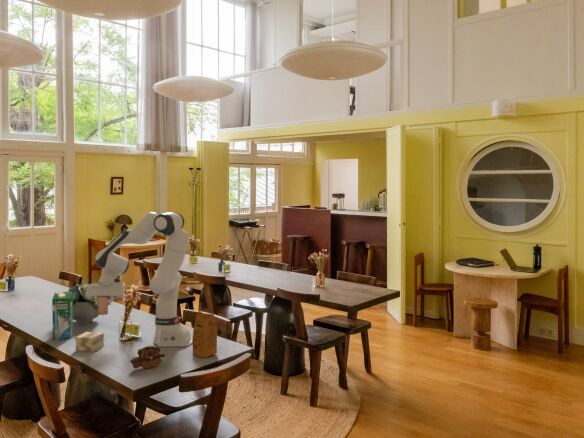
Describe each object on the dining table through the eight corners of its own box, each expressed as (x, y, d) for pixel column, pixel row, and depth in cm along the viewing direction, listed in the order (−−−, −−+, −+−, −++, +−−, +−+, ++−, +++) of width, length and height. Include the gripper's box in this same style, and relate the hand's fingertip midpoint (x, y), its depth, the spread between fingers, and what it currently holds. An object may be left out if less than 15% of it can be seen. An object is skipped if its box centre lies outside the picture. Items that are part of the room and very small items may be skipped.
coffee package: (204, 349, 266) (204, 308, 264) (219, 354, 257) (219, 312, 256) (189, 353, 258) (189, 311, 257) (204, 359, 250) (204, 316, 248)
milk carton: (52, 339, 277) (52, 295, 276) (55, 335, 286) (55, 291, 284) (70, 338, 280) (69, 294, 278) (73, 333, 288) (72, 291, 287)
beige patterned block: (103, 345, 269) (103, 332, 268) (93, 351, 259) (93, 338, 258) (86, 344, 270) (86, 331, 270) (75, 350, 260) (75, 337, 260)
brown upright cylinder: (109, 312, 274) (109, 296, 273) (105, 315, 269) (105, 298, 268) (101, 312, 274) (101, 296, 274) (96, 314, 270) (96, 298, 269)
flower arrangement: (96, 328, 299) (96, 288, 298) (55, 327, 300) (54, 287, 298) (112, 317, 324) (111, 280, 322) (74, 316, 325) (73, 279, 323)
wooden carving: (132, 372, 231) (132, 351, 230) (129, 369, 235) (129, 348, 234) (166, 365, 241) (166, 345, 240) (163, 362, 245) (163, 342, 244)
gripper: (86, 280, 276) (81, 301, 267) (125, 279, 278) (121, 301, 269) (89, 286, 281) (84, 307, 272) (126, 286, 283) (123, 307, 274)
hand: (102, 304), depth 271 cm, fingers closed on brown upright cylinder, 5 cm apart
